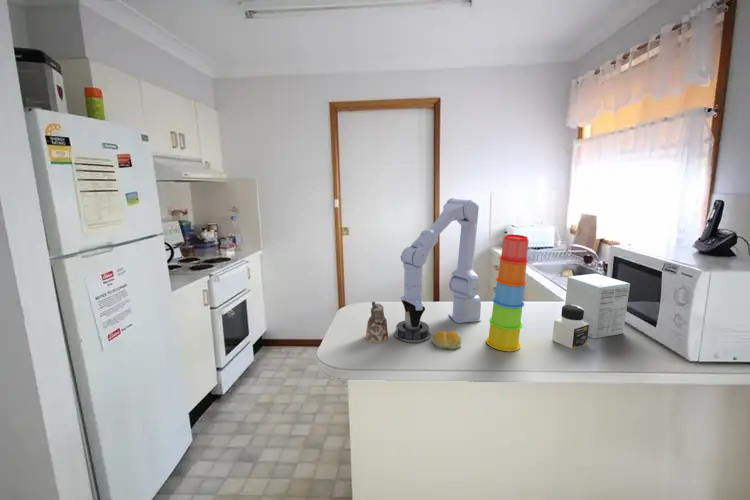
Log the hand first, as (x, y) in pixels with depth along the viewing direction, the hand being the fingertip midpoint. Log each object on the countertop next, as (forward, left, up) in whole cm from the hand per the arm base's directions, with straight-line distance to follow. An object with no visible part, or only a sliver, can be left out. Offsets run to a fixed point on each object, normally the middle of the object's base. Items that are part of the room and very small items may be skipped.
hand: (412, 323), depth 122 cm
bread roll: (-9, +8, -5) cm, 13 cm away
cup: (0, 0, -2) cm, 2 cm away
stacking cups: (-26, +12, -4) cm, 29 cm away
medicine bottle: (-47, +15, -4) cm, 50 cm away
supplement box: (-62, +7, -4) cm, 63 cm away
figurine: (+12, 0, -4) cm, 13 cm away
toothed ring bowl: (0, 0, -4) cm, 4 cm away
